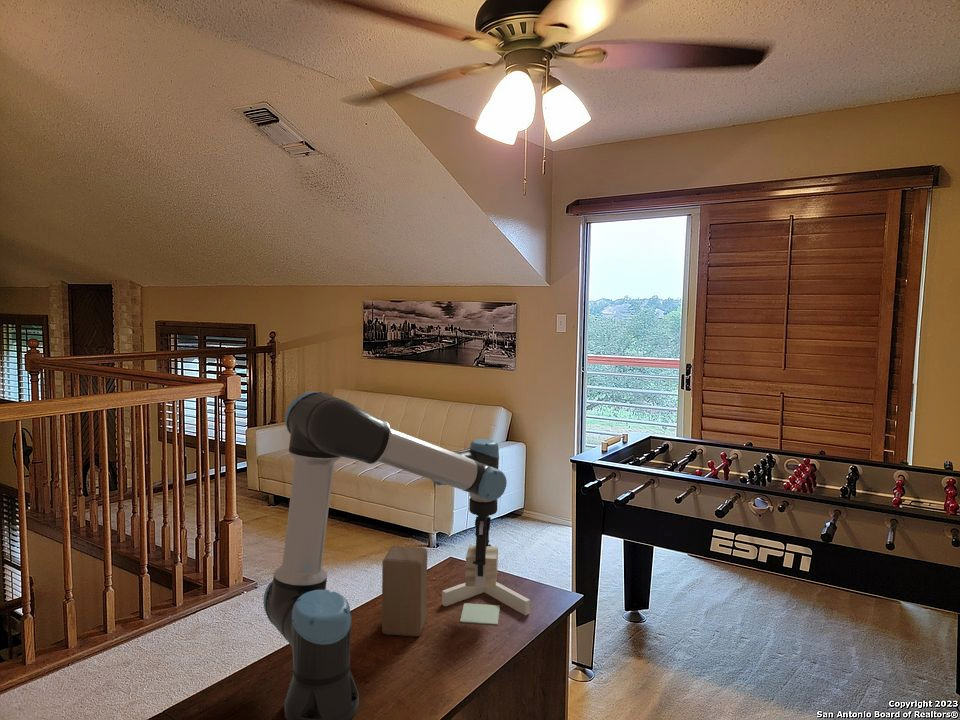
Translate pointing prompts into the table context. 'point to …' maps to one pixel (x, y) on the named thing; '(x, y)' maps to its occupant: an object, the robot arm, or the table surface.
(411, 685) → the table surface
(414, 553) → the wooden block
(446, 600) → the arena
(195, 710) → the table surface
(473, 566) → the birch cube
